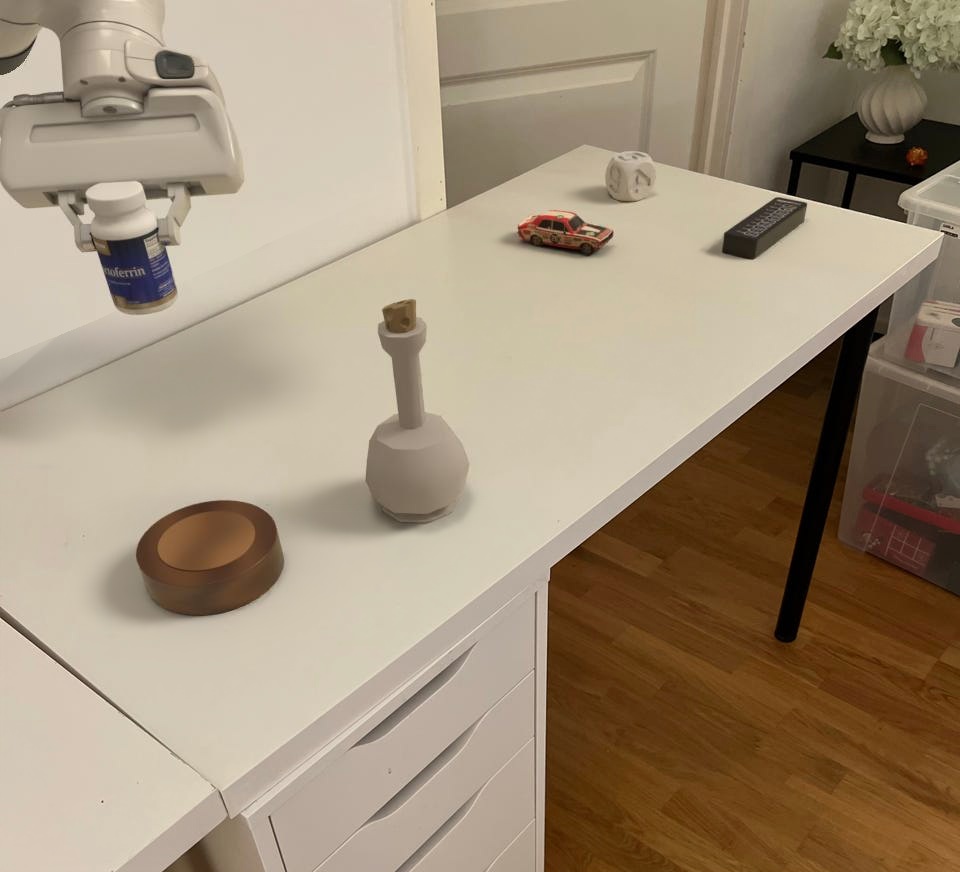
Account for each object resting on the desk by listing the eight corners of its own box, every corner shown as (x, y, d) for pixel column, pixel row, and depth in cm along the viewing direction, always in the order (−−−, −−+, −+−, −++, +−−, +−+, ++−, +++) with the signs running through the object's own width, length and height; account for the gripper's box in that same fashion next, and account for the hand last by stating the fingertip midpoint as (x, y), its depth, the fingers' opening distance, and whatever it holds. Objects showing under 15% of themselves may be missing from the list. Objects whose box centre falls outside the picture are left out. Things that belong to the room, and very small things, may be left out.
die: (655, 196, 133) (657, 157, 130) (626, 204, 132) (628, 165, 128) (632, 186, 137) (634, 148, 133) (603, 194, 135) (605, 156, 131)
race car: (539, 242, 128) (534, 205, 125) (618, 244, 121) (614, 205, 118) (518, 255, 125) (512, 218, 122) (597, 258, 118) (593, 219, 115)
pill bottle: (103, 315, 86) (64, 199, 79) (134, 288, 90) (100, 175, 83) (161, 319, 85) (127, 202, 78) (190, 291, 89) (160, 177, 82)
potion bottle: (414, 543, 79) (390, 337, 67) (350, 499, 84) (316, 300, 72) (492, 498, 83) (483, 296, 71) (426, 459, 88) (406, 264, 76)
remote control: (720, 252, 119) (722, 233, 117) (773, 214, 127) (776, 196, 125) (753, 259, 117) (756, 240, 115) (805, 220, 125) (808, 202, 123)
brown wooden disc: (148, 628, 73) (136, 597, 71) (144, 544, 81) (134, 514, 79) (292, 598, 75) (285, 567, 73) (275, 518, 83) (268, 488, 81)
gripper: (-22, 74, 80) (-11, 238, 80) (224, 57, 81) (237, 220, 80) (14, 117, 87) (24, 270, 86) (242, 101, 87) (253, 253, 87)
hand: (129, 246), depth 83 cm, fingers closed on pill bottle, 6 cm apart
